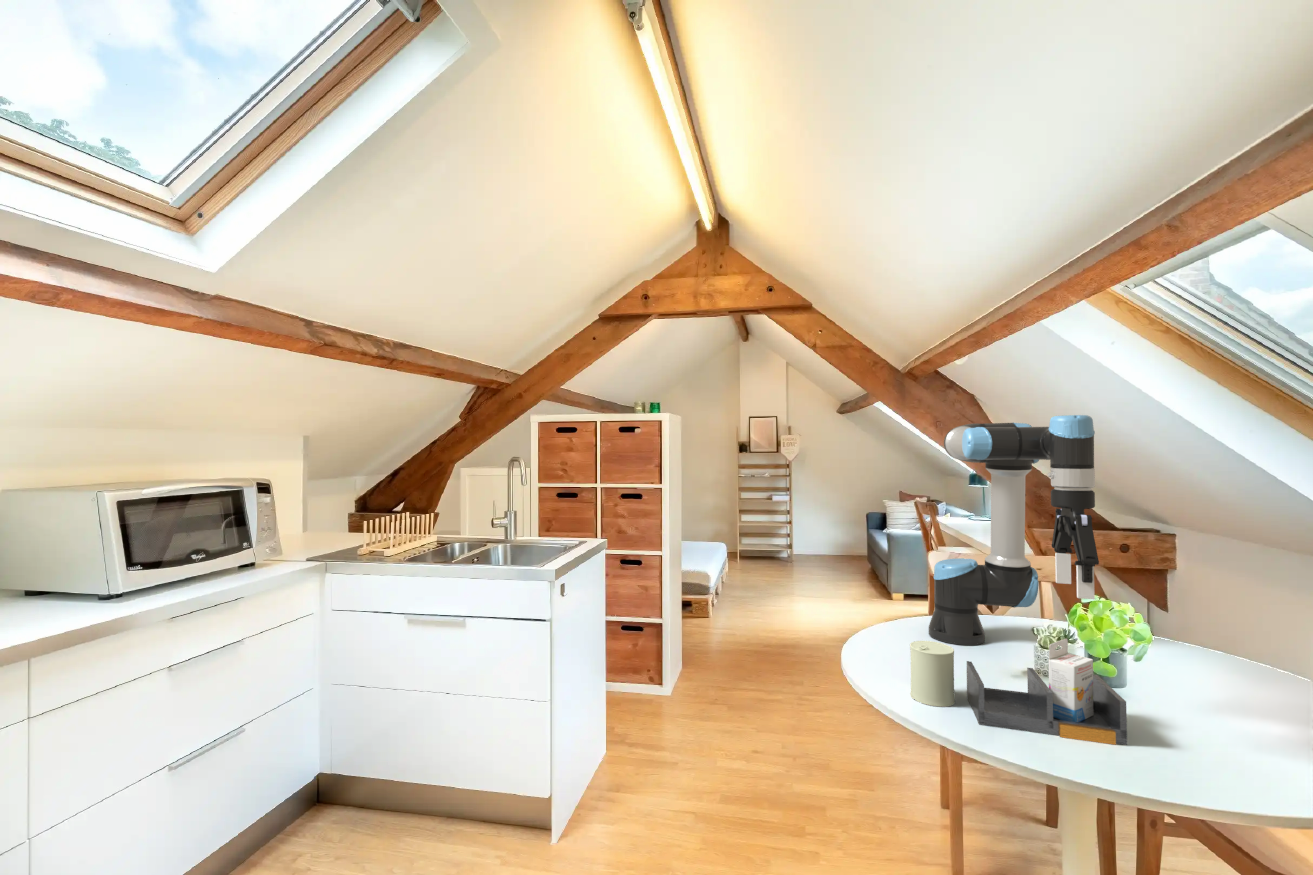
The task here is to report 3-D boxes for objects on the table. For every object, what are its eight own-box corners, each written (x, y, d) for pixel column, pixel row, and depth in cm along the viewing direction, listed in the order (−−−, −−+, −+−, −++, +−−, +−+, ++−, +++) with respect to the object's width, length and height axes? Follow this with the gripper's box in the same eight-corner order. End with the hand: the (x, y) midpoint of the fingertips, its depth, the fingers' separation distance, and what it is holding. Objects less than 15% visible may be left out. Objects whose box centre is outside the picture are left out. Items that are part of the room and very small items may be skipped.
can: (901, 693, 133) (900, 641, 134) (930, 687, 137) (929, 636, 137) (934, 709, 125) (933, 654, 125) (964, 702, 128) (963, 648, 129)
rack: (967, 697, 131) (966, 660, 131) (1098, 713, 123) (1097, 674, 123) (979, 725, 117) (979, 685, 118) (1128, 746, 109) (1127, 702, 109)
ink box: (1076, 725, 115) (1074, 651, 115) (1048, 716, 119) (1047, 644, 120) (1095, 715, 119) (1093, 643, 120) (1067, 706, 124) (1066, 637, 124)
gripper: (1034, 484, 134) (1036, 576, 133) (1071, 492, 110) (1072, 603, 110) (1073, 485, 131) (1074, 578, 131) (1118, 493, 108) (1120, 607, 107)
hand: (1073, 590), depth 120 cm, fingers open, 13 cm apart
